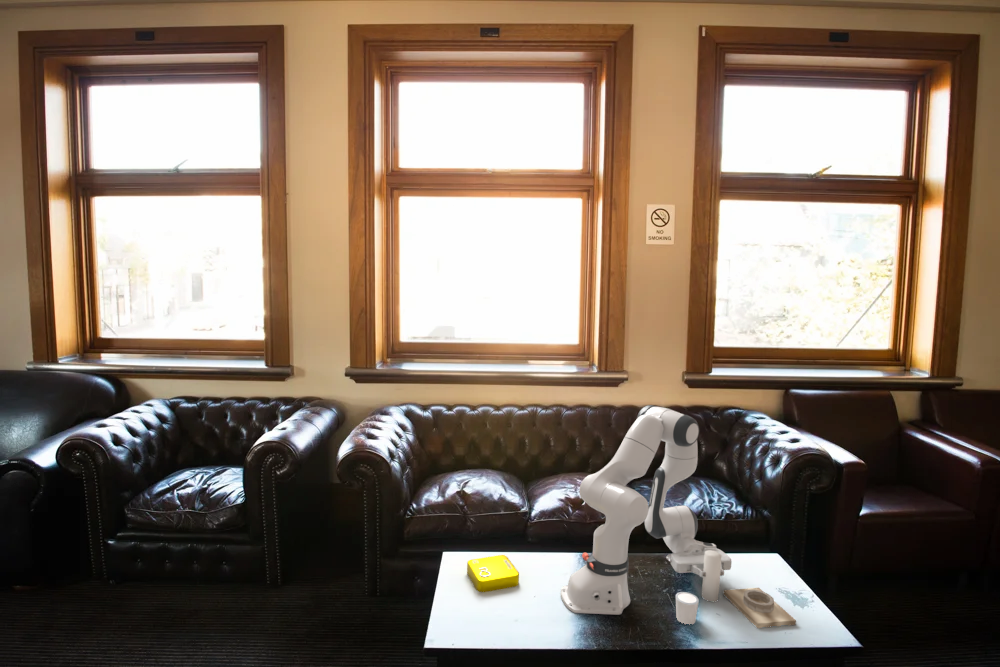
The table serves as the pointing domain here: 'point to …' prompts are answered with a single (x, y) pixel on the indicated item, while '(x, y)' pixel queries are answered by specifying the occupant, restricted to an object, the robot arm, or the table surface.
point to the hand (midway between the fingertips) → (713, 574)
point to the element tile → (492, 573)
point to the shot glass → (686, 607)
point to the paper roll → (711, 575)
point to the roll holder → (759, 607)
